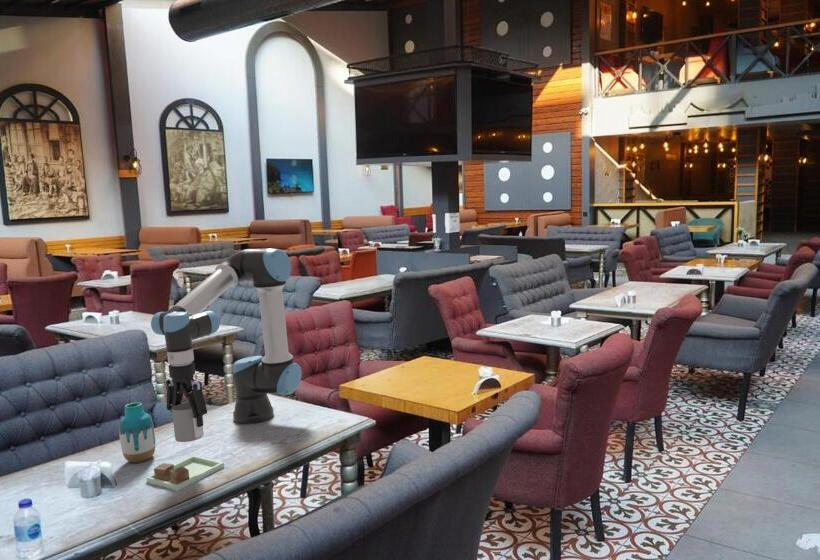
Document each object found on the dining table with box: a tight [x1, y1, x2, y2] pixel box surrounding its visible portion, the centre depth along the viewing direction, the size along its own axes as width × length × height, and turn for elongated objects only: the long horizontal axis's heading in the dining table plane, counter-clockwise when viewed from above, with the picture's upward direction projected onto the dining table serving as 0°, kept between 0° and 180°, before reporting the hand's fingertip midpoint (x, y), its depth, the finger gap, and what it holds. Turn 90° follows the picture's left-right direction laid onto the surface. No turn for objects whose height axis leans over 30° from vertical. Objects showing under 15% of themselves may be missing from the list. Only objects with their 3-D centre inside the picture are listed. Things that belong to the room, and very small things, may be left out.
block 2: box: [170, 466, 189, 485], centre depth 200 cm, size 4×4×4 cm
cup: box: [171, 401, 204, 443], centre depth 206 cm, size 8×8×10 cm
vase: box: [118, 401, 156, 463], centre depth 220 cm, size 11×11×19 cm
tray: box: [145, 454, 225, 492], centre depth 206 cm, size 18×14×2 cm
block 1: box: [153, 462, 174, 482], centre depth 203 cm, size 4×4×4 cm
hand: (189, 434), depth 207 cm, fingers closed on cup, 8 cm apart
